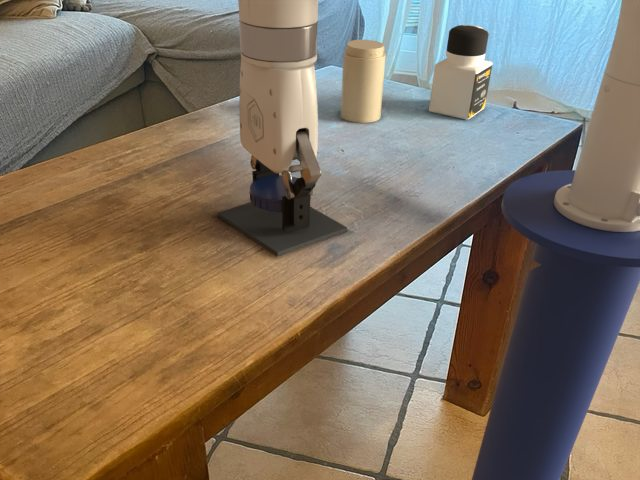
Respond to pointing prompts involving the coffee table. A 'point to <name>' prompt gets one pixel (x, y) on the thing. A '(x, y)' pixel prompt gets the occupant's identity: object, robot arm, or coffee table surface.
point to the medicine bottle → (462, 74)
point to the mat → (279, 228)
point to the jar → (363, 81)
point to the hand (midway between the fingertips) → (281, 214)
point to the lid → (269, 193)
